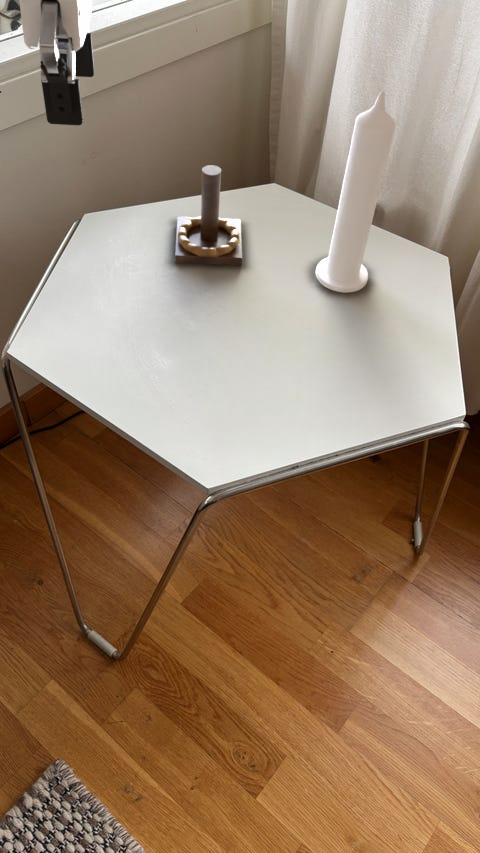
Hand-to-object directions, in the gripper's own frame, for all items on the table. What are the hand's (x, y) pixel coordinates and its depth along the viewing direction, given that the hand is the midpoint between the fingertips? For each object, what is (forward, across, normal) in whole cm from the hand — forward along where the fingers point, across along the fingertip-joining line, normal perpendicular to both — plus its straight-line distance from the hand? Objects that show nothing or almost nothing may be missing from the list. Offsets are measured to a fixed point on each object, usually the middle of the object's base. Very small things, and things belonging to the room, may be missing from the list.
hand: (72, 98), depth 68 cm
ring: (+24, -13, +14) cm, 31 cm away
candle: (+26, -8, +32) cm, 42 cm away
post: (+26, -14, +14) cm, 33 cm away
